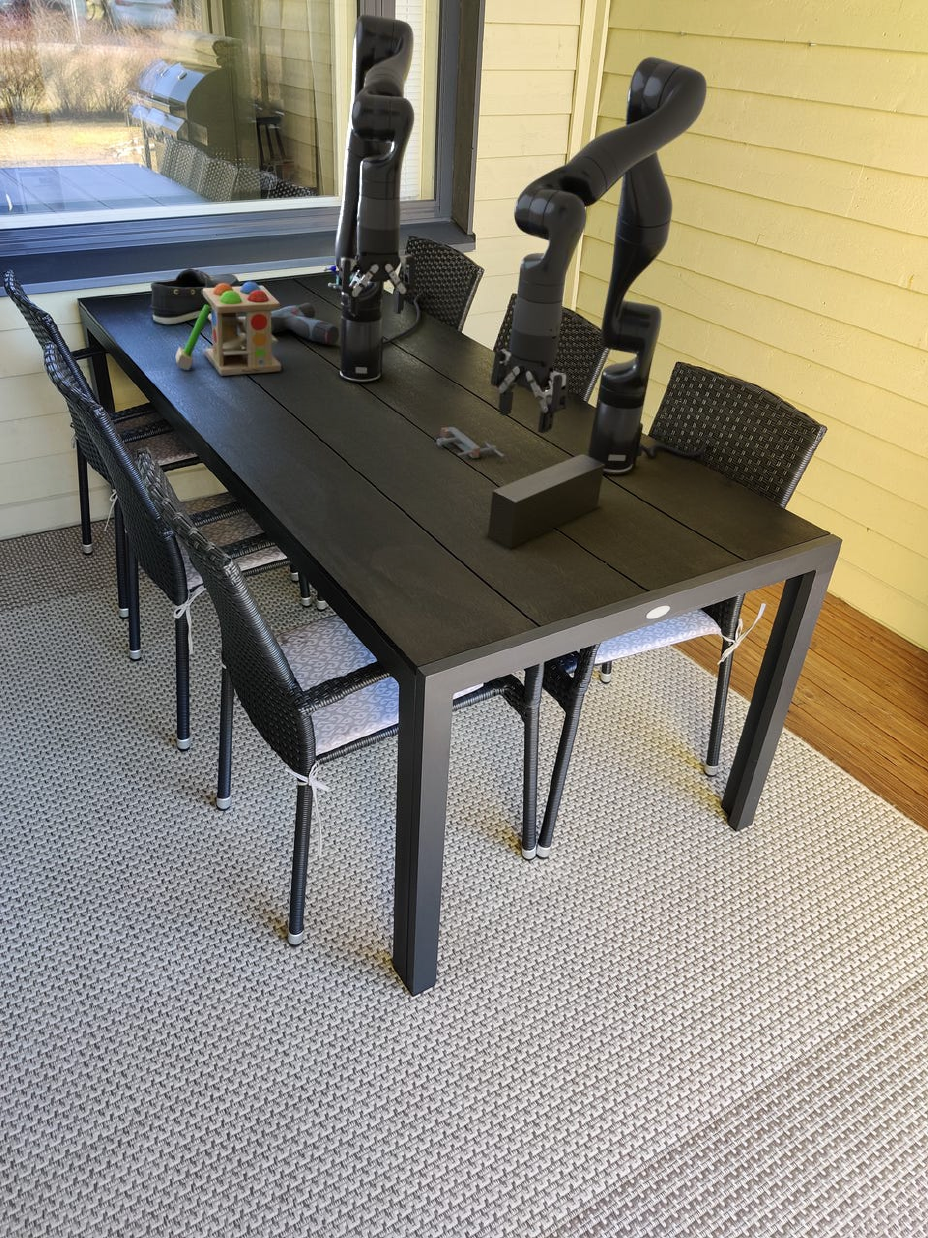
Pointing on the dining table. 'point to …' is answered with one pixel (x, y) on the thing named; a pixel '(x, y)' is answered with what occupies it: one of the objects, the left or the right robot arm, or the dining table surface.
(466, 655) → the dining table surface
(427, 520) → the dining table surface
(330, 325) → the power drill
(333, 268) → the molecular model
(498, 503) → the bar
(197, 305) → the boat shoe
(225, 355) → the pounding bench toy
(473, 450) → the clamp
